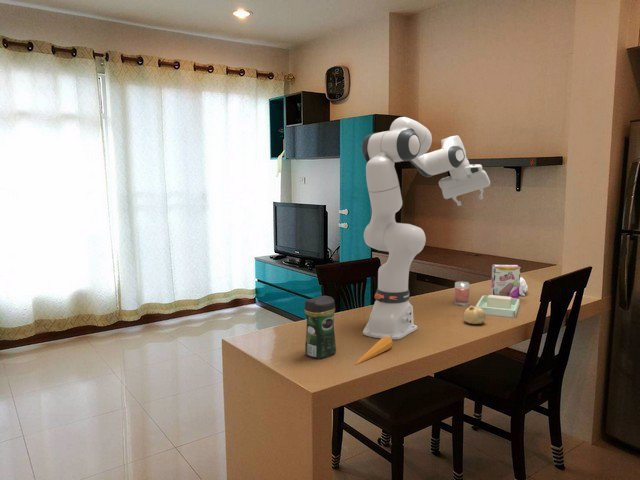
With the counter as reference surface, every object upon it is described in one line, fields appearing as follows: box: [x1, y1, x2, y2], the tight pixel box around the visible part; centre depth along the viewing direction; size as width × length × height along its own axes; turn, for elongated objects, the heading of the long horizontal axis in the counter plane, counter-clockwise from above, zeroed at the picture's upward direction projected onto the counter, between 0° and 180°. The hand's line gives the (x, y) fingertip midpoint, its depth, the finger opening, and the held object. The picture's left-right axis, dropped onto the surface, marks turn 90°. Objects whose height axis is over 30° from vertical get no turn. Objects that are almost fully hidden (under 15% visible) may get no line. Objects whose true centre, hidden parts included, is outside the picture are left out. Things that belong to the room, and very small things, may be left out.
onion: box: [463, 305, 487, 325], centre depth 189 cm, size 8×8×7 cm
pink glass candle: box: [453, 280, 471, 307], centre depth 213 cm, size 6×6×10 cm
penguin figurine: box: [519, 276, 529, 297], centre depth 233 cm, size 6×8×12 cm
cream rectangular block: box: [487, 294, 511, 309], centre depth 209 cm, size 5×9×4 cm, turn 64°
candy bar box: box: [490, 264, 522, 299], centre depth 218 cm, size 11×5×16 cm, turn 84°
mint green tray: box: [474, 295, 520, 319], centre depth 205 cm, size 20×15×4 cm
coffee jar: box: [304, 295, 337, 359], centre depth 157 cm, size 10×8×19 cm
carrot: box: [354, 336, 394, 366], centre depth 156 cm, size 20×4×4 cm, turn 141°
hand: (470, 202), depth 215 cm, fingers open, 8 cm apart
